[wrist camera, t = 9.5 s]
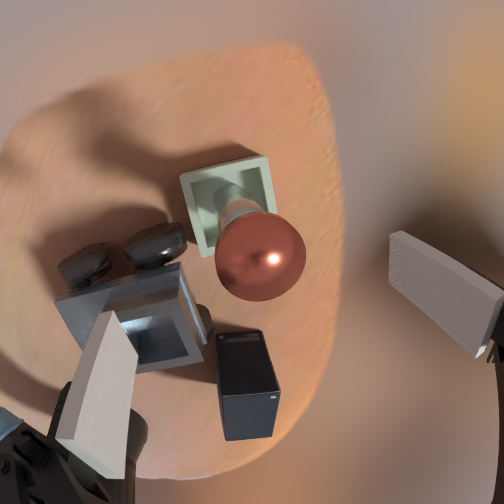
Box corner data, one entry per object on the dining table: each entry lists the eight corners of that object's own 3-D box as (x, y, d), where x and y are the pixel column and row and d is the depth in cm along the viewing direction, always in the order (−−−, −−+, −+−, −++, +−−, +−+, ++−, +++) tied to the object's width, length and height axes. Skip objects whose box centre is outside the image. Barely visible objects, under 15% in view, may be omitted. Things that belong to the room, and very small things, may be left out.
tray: (201, 246, 29) (201, 257, 27) (181, 173, 26) (179, 177, 23) (273, 227, 30) (281, 237, 27) (259, 154, 27) (266, 156, 24)
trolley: (111, 334, 32) (92, 397, 22) (70, 252, 27) (26, 302, 17) (212, 312, 33) (221, 379, 23) (183, 218, 28) (175, 261, 18)
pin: (213, 230, 28) (228, 310, 15) (201, 184, 26) (205, 230, 13) (259, 218, 29) (310, 287, 16) (250, 173, 27) (299, 207, 14)
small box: (212, 332, 34) (219, 396, 25) (263, 329, 35) (284, 389, 26) (215, 385, 38) (223, 443, 29) (258, 381, 39) (274, 437, 30)
